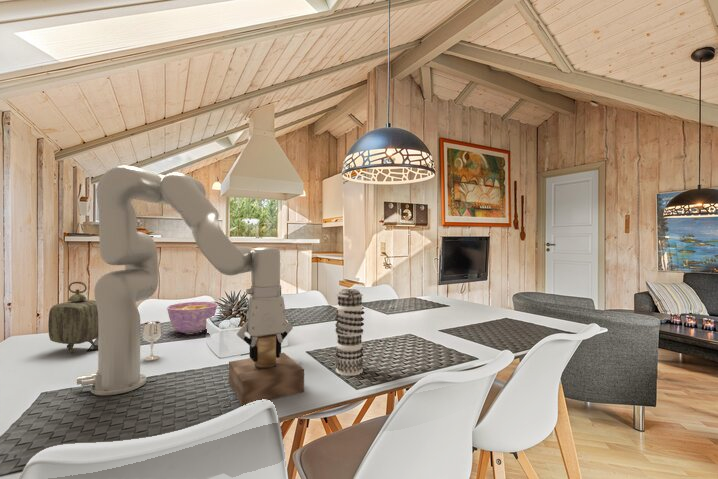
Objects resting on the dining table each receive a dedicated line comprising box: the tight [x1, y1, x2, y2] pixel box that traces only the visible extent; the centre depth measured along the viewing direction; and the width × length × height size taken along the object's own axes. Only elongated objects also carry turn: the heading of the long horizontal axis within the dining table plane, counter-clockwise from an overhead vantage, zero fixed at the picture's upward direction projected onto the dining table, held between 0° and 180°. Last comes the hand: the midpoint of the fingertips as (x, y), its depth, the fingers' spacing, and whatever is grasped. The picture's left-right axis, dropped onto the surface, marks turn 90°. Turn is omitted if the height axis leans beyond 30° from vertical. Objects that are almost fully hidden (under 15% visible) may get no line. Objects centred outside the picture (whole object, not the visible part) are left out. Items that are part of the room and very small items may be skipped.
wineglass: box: [141, 320, 163, 361], centre depth 119 cm, size 6×6×12 cm
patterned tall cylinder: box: [334, 288, 365, 377], centre depth 109 cm, size 9×9×25 cm
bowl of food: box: [166, 301, 218, 333], centre depth 153 cm, size 20×20×12 cm
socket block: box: [228, 352, 305, 406], centre depth 96 cm, size 16×16×6 cm
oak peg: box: [255, 334, 276, 370], centre depth 96 cm, size 6×6×14 cm
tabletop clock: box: [47, 281, 99, 354], centre depth 126 cm, size 14×9×25 cm, turn 84°
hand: (265, 357), depth 96 cm, fingers closed on oak peg, 5 cm apart
